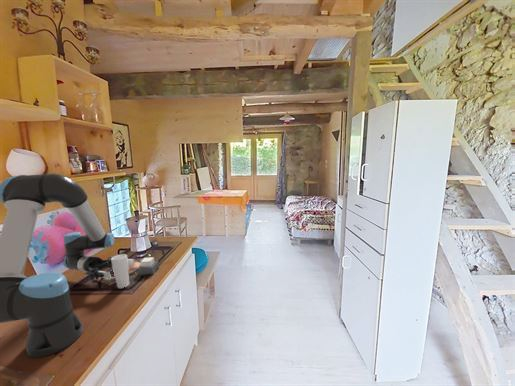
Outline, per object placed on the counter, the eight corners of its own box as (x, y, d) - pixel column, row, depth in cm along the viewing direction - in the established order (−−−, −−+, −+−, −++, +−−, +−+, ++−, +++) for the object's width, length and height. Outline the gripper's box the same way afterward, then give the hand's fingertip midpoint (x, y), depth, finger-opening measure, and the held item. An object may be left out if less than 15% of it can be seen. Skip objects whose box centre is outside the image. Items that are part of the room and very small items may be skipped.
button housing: (153, 274, 127) (152, 267, 126) (138, 275, 127) (137, 268, 126) (159, 267, 135) (158, 260, 134) (144, 268, 135) (143, 261, 134)
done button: (151, 269, 128) (150, 261, 127) (141, 269, 128) (140, 261, 127) (154, 264, 133) (153, 257, 132) (145, 265, 133) (144, 257, 132)
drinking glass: (119, 291, 113) (114, 261, 110) (113, 287, 117) (108, 258, 114) (133, 284, 118) (129, 255, 116) (127, 280, 122) (123, 252, 120)
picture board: (109, 285, 118) (108, 283, 118) (94, 280, 125) (94, 277, 124) (148, 266, 137) (147, 264, 137) (133, 262, 144) (133, 260, 143)
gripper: (113, 260, 135) (143, 264, 129) (66, 283, 112) (99, 289, 105) (110, 247, 134) (141, 250, 127) (63, 268, 111) (97, 273, 104)
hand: (122, 268), depth 116 cm, fingers open, 13 cm apart
